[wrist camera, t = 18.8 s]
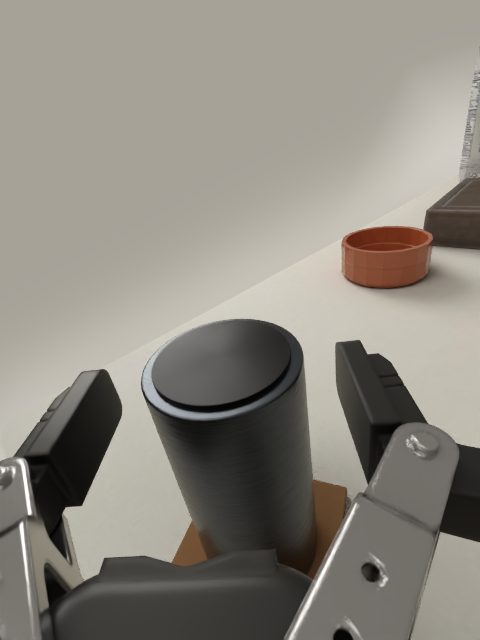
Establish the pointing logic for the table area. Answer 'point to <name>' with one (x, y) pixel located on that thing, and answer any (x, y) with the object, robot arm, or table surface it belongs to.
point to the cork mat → (327, 522)
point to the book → (456, 216)
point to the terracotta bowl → (386, 256)
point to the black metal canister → (238, 436)
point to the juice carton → (472, 132)
